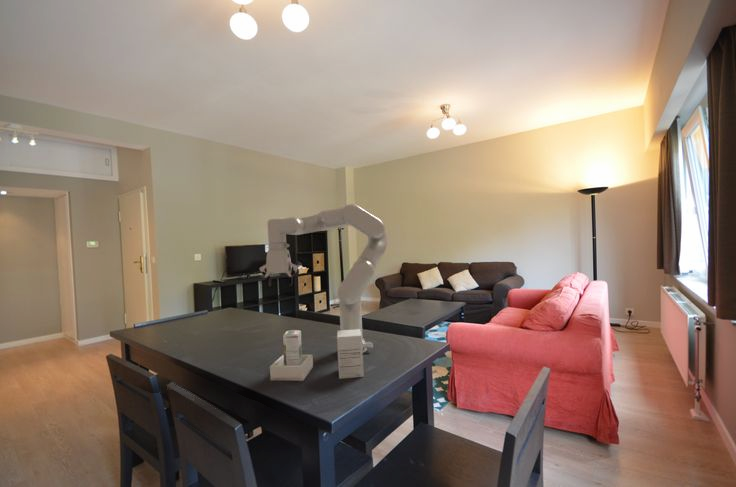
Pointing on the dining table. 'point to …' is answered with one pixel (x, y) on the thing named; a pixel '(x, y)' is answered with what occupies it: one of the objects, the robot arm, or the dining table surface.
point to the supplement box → (350, 353)
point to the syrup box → (292, 348)
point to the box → (291, 369)
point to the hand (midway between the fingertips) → (279, 286)
